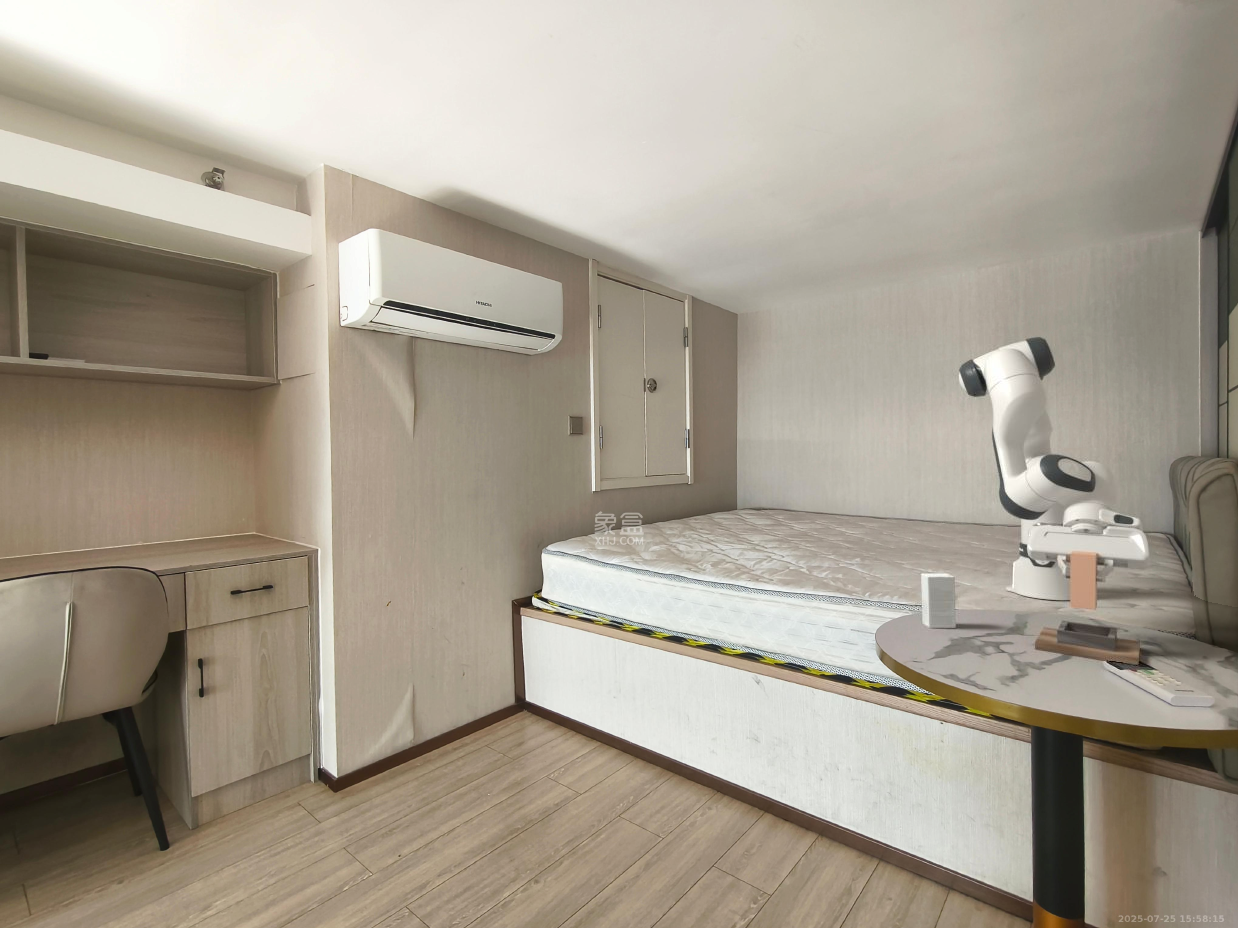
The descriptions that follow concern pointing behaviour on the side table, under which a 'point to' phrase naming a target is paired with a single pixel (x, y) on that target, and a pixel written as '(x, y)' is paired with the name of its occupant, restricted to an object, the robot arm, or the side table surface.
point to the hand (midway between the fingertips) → (1083, 578)
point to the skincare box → (938, 600)
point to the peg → (1083, 580)
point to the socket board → (1088, 642)
